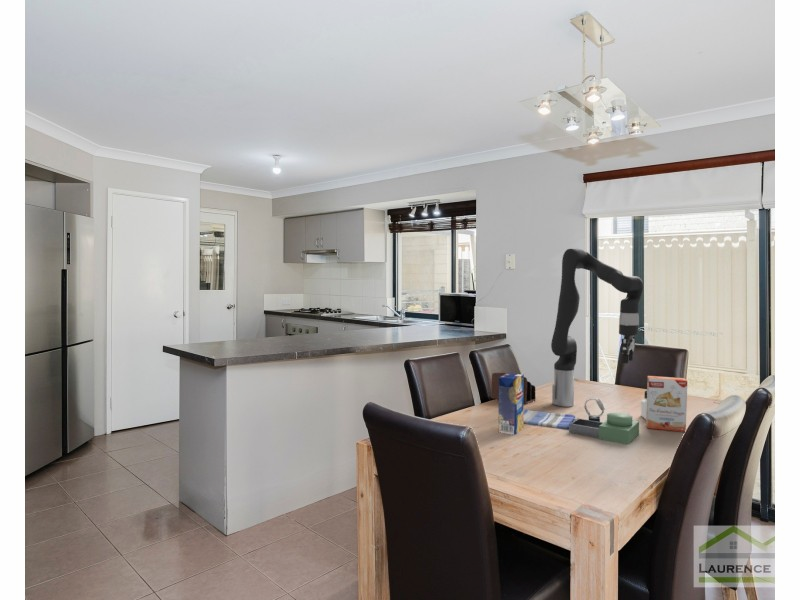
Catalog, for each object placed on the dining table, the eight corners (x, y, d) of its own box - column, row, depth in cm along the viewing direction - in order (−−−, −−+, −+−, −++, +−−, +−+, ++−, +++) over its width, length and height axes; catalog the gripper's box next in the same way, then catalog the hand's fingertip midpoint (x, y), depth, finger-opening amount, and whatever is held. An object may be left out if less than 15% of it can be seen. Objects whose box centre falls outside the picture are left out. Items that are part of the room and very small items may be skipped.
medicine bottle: (663, 420, 218) (663, 393, 217) (645, 419, 219) (645, 392, 219) (658, 416, 225) (658, 389, 224) (640, 415, 226) (641, 388, 226)
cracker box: (647, 429, 206) (648, 377, 205) (645, 425, 212) (646, 375, 211) (686, 432, 201) (687, 380, 200) (684, 428, 207) (685, 377, 206)
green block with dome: (597, 438, 194) (598, 417, 193) (609, 428, 206) (610, 409, 206) (628, 444, 187) (628, 422, 186) (638, 433, 199) (639, 413, 199)
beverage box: (523, 427, 208) (523, 374, 207) (515, 435, 198) (515, 379, 197) (507, 425, 211) (507, 372, 210) (498, 432, 202) (498, 377, 201)
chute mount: (569, 432, 201) (569, 423, 201) (577, 426, 209) (577, 418, 209) (599, 438, 194) (599, 429, 194) (607, 431, 202) (607, 423, 202)
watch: (604, 426, 209) (605, 400, 208) (584, 425, 212) (584, 398, 211) (604, 423, 214) (604, 397, 214) (584, 421, 217) (584, 396, 216)
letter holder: (526, 405, 246) (526, 376, 246) (490, 398, 260) (491, 371, 259) (535, 401, 254) (536, 373, 253) (501, 395, 267) (501, 368, 266)
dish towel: (523, 413, 232) (523, 407, 231) (577, 420, 220) (577, 414, 220) (511, 423, 216) (511, 416, 216) (568, 431, 205) (568, 424, 205)
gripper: (623, 321, 222) (622, 358, 223) (615, 324, 210) (614, 363, 211) (642, 322, 217) (640, 360, 218) (634, 325, 206) (633, 365, 207)
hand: (627, 361), depth 215 cm, fingers open, 8 cm apart
